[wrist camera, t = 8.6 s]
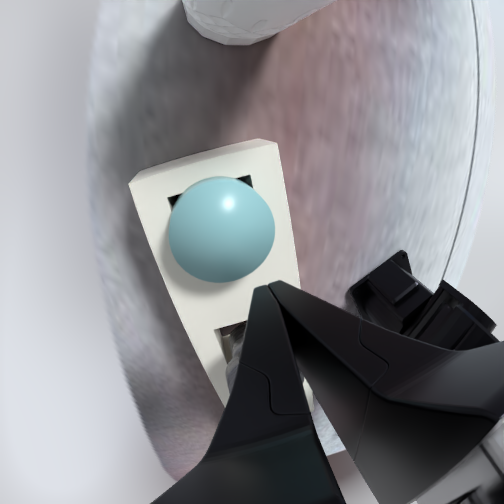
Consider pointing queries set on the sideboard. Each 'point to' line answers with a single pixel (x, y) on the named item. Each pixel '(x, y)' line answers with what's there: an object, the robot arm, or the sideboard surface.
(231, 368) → the pot dial
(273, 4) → the white cup
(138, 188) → the knob housing
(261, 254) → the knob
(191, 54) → the sideboard surface
